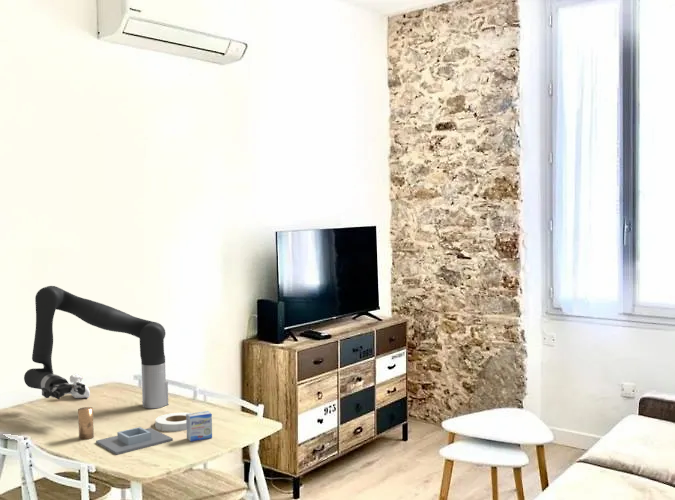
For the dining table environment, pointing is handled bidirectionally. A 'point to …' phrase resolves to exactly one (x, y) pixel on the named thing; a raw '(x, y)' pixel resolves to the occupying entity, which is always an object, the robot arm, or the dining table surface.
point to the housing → (133, 440)
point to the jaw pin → (85, 423)
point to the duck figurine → (74, 380)
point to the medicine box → (199, 426)
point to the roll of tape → (171, 422)
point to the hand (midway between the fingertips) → (71, 394)
